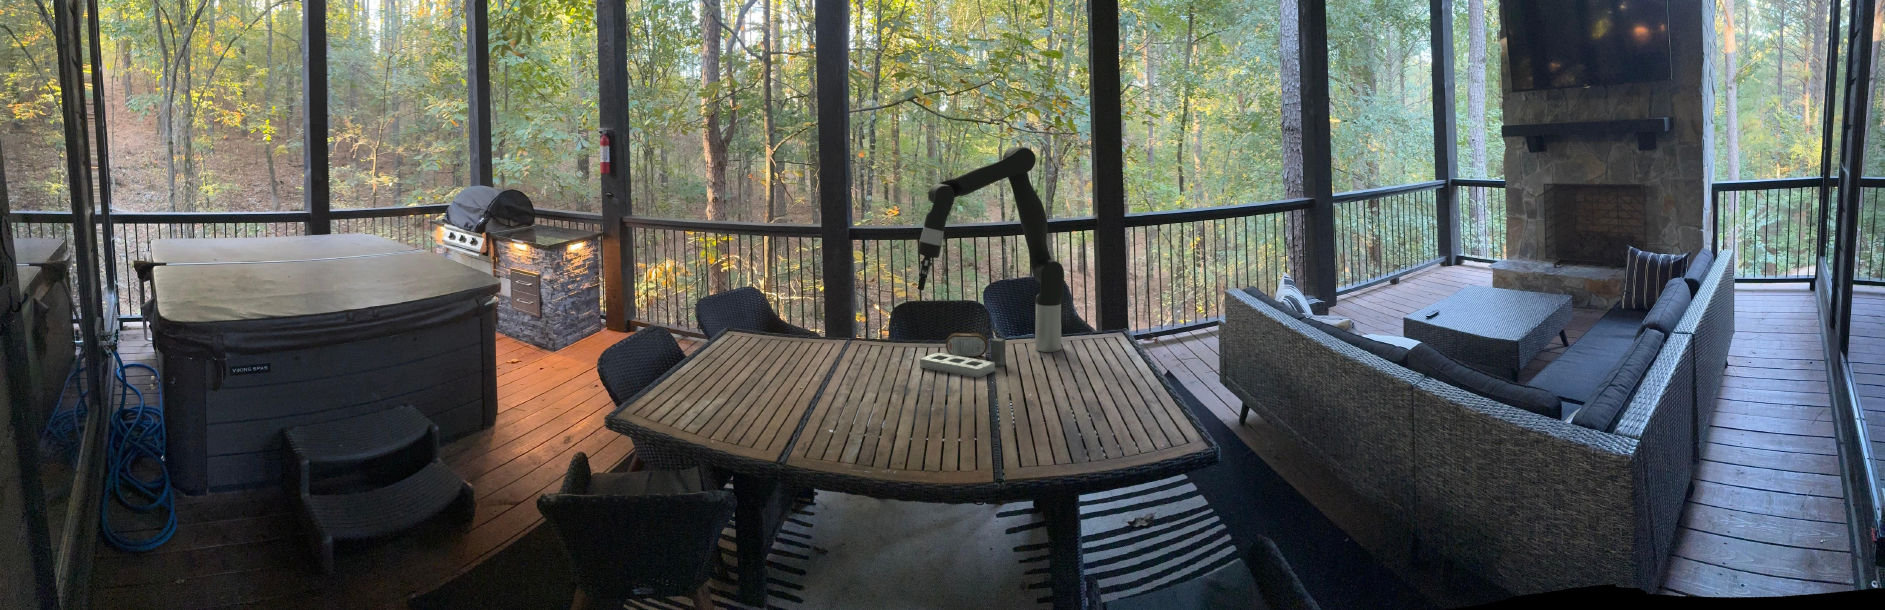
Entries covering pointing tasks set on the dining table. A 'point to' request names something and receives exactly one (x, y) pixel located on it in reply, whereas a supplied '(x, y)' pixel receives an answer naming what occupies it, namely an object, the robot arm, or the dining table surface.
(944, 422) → the dining table surface
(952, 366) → the rail
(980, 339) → the tin
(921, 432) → the dining table surface
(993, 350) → the square peg
